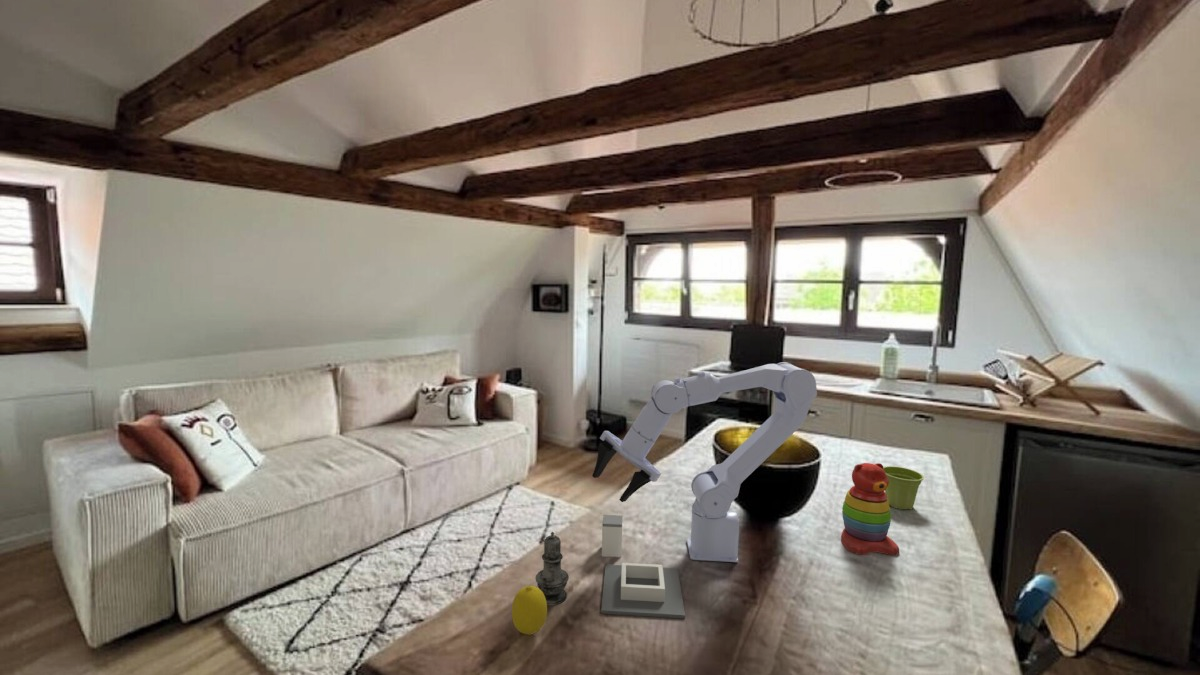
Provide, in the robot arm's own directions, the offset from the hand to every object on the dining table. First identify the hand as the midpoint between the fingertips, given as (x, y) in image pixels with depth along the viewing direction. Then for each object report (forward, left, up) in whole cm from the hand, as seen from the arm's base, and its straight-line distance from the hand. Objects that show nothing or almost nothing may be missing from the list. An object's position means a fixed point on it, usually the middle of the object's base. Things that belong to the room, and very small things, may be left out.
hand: (608, 488), depth 104 cm
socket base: (-7, +14, -13) cm, 20 cm away
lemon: (+11, +27, -14) cm, 32 cm away
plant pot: (-74, -29, -14) cm, 81 cm away
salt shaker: (+9, +17, -14) cm, 23 cm away
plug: (-1, +1, -13) cm, 13 cm away
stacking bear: (-56, -8, -14) cm, 58 cm away
